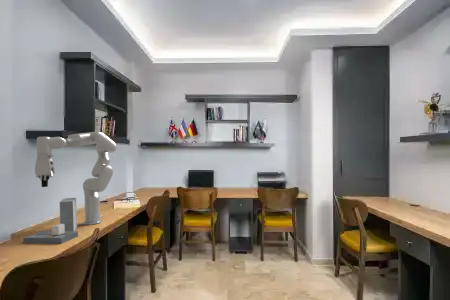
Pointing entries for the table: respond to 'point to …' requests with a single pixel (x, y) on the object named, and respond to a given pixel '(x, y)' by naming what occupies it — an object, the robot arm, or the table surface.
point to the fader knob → (58, 229)
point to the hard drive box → (68, 213)
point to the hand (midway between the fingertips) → (44, 186)
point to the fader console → (50, 237)
